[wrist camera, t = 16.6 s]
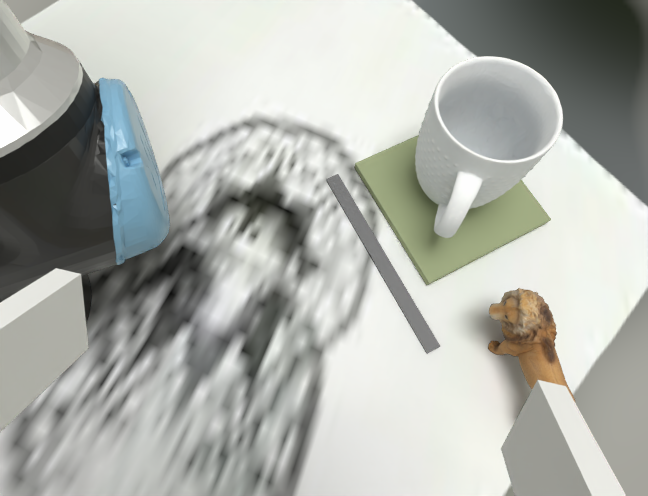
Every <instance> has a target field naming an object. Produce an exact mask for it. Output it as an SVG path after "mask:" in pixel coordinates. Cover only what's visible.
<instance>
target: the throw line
mask: <svg viewBox="0 0 648 496" xmlns="http://www.w3.org/2000/svg"><path fill="white" fill-rule="evenodd" d="M326 180H327V182H328V184H329V186H330V187H331V189H332V191H333V193H334V194H335V196H336V198H337V199H338V201H339V203H340V205H341V206H342V208H343V210H344V212H345V213H346V215H347V217H348V218H349V220H350V222H351V224H352V225H353V227H354V229H355V230H356V232H357V234H358V236H359V237H360V239H361V241H362V243H363V244H364V246H365V248H366V249H367V251H368V253H369V255H370V256H371V258H372V260H373V262H374V263H375V265H376V267H377V268H378V270H379V272H380V274H381V275H382V277H383V279H384V280H385V282H386V284H387V286H388V287H389V289H390V291H391V293H392V294H393V296H394V298H395V299H396V301H397V303H398V305H399V306H400V308H401V310H402V312H403V313H404V315H405V317H406V318H407V320H408V322H409V324H410V325H411V327H412V329H413V330H414V332H415V334H416V336H417V337H418V339H419V341H420V343H421V344H422V346H423V348H424V349H425V351H426V353H429V352H431V351H433V350H434V349H436V348H438V347H440V345H439V343H438V342H437V340H436V338H435V337H434V335H433V333H432V331H431V330H430V328H429V326H428V325H427V323H426V321H425V320H424V318H423V316H422V315H421V313H420V311H419V310H418V308H417V306H416V305H415V303H414V301H413V300H412V298H411V296H410V294H409V293H408V291H407V289H406V288H405V286H404V284H403V283H402V281H401V279H400V278H399V276H398V274H397V273H396V271H395V269H394V268H393V266H392V264H391V262H390V261H389V259H388V257H387V256H386V254H385V252H384V251H383V249H382V247H381V246H380V244H379V242H378V241H377V239H376V237H375V236H374V234H373V232H372V230H371V229H370V227H369V225H368V224H367V222H366V220H365V219H364V217H363V215H362V214H361V212H360V210H359V209H358V207H357V205H356V204H355V202H354V200H353V198H352V197H351V195H350V193H349V192H348V190H347V188H346V187H345V185H344V183H343V182H342V180H341V178H340V177H339V175H338V174H337V175H335V176H332V177H330V178H328V179H326Z"/></svg>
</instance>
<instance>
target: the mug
mask: <svg viewBox="0 0 648 496" xmlns="http://www.w3.org/2000/svg"><path fill="white" fill-rule="evenodd" d="M562 122H563V115H562V108H561V104H560V101H559V98H558V96H557V94H556V92H555V91H554V89H553V88H552V86H551V85H550V84H549V83H548V82H547V80H546V79H545V78H543V77H542V76H541V75H540V74H539V73H537V72H536V71H534V70H533V69H531V68H530V67H528V66H526V65H524V64H522V63H519V62H517V61H513V60H509V59H506V58H501V57H477V58H471V59H468V60H465V61H462V62H460V63H458V64H456V65H455V66H453V67H452V68H450V69H449V70H448V71H447V72H446V73H445V74H444V75H443V77H442V78H441V79H440V81H439V82H438V84H437V86H436V89H435V91H434V94H433V96H432V99H431V101H430V103H429V106H428V109H427V111H426V113H425V117H424V120H423V122H422V126H421V129H420V131H419V137H418V139H417V146H416V154H415V159H416V161H415V166H416V172H417V178H418V181H419V184H420V186H421V188H422V190H423V191H424V193H425V194H426V195H427V196H428V197H429V198H430V199H431V200H432V201H433V202H435V203H436V204H438V210H437V214H436V217H435V224H434V231H435V233H436V234H438V235H439V236H441V237H445V238H450V237H452V236H453V235H454V234H455V233H456V232H457V230H458V228H459V227H460V225H461V223H462V221H463V220H464V218H465V216H466V214H467V212H468V210H469V209H471V208H477V207H479V206H483V205H484V204H486V203H489V202H491V201H492V200H495V199H497V198H498V197H499V196H501V195H503V194H504V193H505V192H506V191H508V190H510V189H511V188H512V187H513V186H514V185H516V184H517V183H518V182H519V181H520V180H521V179H522V178H524V177H525V176H526V174H527V173H528V172H529V171H530V170H531V169H533V167H534V166H535V165H536V164H537V163H538V162H539V161H540V160H541V158H542V157H543V156H544V155H545V154H546V153H547V152H548V151H549V150H550V148H551V147H552V146H553V145H554V143H555V142H556V141H557V139H558V137H559V135H560V132H561V129H562Z"/></svg>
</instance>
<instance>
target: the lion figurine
mask: <svg viewBox="0 0 648 496" xmlns="http://www.w3.org/2000/svg"><path fill="white" fill-rule="evenodd" d="M489 314H490V317H491V318H492V319H494V320H500V322H501V323H502V331H503V334H504V337H505V340H504V341H503V342H502V343H501V344H500V343H499V342H498V341H491V343H489V347H488V349H489V350H490V351H491V352H493V353H495V354H497V355H504V354H510V355H512V356H518V358H519V362H520V365H521V369H522V371H523V374H524V376H525V378H526V380H527V382H528V384H529V386H530V387H531V389H533V387H534V385H535V383H536V382H537V380H541V381H545V382H550V383H554V384H558V385H563V386H566V387H567V389H568V391H569V393H570V394H571V396H572V398H573V400H574V402H575V399H574V397H573V395H572V393H571V391H570V389H569V387H568V385H567V383H566V381H565V377H564V374H563V372H562V368H561V365H560V362H559V359H558V356H557V353H556V350H555V343H554V340H555V338H556V337H555V336H556V334H557V332H556V327H555V326H556V324H555V323H554V320H553V318H552V317H553V315H552V313H551V311H550V310H549V306H548V305H547V304H546V303H545V302H544V299H543V298H542V297H541V296H538V293H537V292H532V291H530V290H524V289H520V288H518V289H517V290H515V291H509V292H506V293H504V296H503V297H502V301H501V302H500V303H499V304H492V305H491V306H490V309H489Z"/></svg>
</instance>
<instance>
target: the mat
mask: <svg viewBox="0 0 648 496" xmlns="http://www.w3.org/2000/svg"><path fill="white" fill-rule="evenodd" d="M418 137H419V135H418V136H416V137H413V138H411V139H409V140H407V141H404V142H402V143H400V144H398V145H395V146H393V147H391V148H389V149H386V150H384V151H382V152H380V153H377V154H375V155H373V156H371V157H368V158H366V159H364V160H362V161H359V162H357V163H355V169H356V171H357V172H358V174H359V176H360V177H361V179H362V181H363V182H364V184H365V185H366V187H367V189H368V190H369V192H370V194H371V195H372V197H373V198H374V200H375V202H376V203H377V205H378V207H379V208H380V210H381V212H382V213H383V215H384V216H385V218H386V220H387V221H388V223H389V225H390V226H391V228H392V230H393V231H394V233H395V234H396V236H397V238H398V239H399V241H400V243H401V244H402V246H403V247H404V249H405V251H406V252H407V254H408V256H409V257H410V259H411V261H412V262H413V264H414V265H415V267H416V269H417V270H418V272H419V274H420V275H421V277H422V278H423V280H424V282H425V283H426V285H428V284H430V283H432V282H434V281H436V280H438V279H440V278H442V277H444V276H446V275H448V274H450V273H451V272H453V271H455V270H457V269H459V268H461V267H463V266H465V265H467V264H469V263H471V262H473V261H474V260H476V259H478V258H480V257H482V256H484V255H486V254H488V253H490V252H492V251H494V250H496V249H498V248H499V247H501V246H503V245H505V244H507V243H509V242H511V241H513V240H515V239H517V238H519V237H521V236H522V235H524V234H526V233H528V232H530V231H532V230H534V229H536V228H538V227H540V226H542V225H544V224H545V223H547V222H548V221H550V220H551V218H550V217H549V216H548V215H547V213H546V212H545V211H544V209H543V208H542V207H541V205H540V204H539V203H538V201H537V200H536V199H535V197H534V196H533V195H532V193H531V192H530V191H529V189H528V188H527V187H526V185H525V184H524V183H523V181H522V180H520V181H519V182H518V183H517V184H516V185H514V186H513V187H512V188H511V189H510V190H508V191H506V192H505V193H504V194H503V195H501V196H499V197H498V198H497V199H495V200H492V201H491V202H489V203H486V204H484V205H483V206H479V207H477V208H471V209H469V210H468V212H467V214H466V216H465V218H464V220H463V221H462V223H461V225H460V227H459V228H458V230H457V232H456V233H455V234H454V235H453V236H452V237H450V238H445V237H441V236H439V235H438V234H436V233H435V231H434V224H435V217H436V214H437V210H438V204H436V203H435V202H433V201H432V200H431V199H430V198H429V197H428V196H427V195H426V194H425V193H424V191H423V190H422V188H421V186H420V184H419V181H418V178H417V172H416V166H415V161H416V159H415V154H416V146H417V139H418Z"/></svg>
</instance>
